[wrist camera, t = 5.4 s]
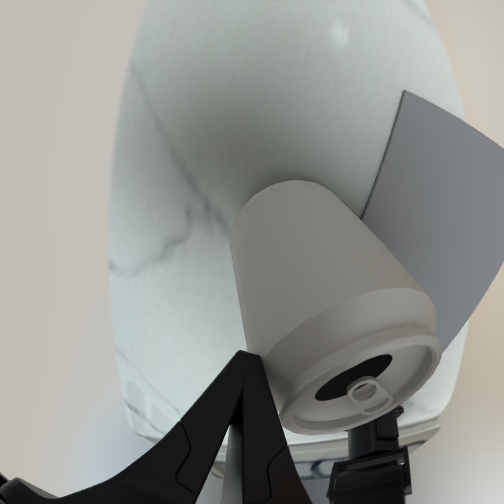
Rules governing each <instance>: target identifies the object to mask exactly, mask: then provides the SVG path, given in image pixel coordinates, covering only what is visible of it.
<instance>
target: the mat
mask: <svg viewBox="0 0 504 504" xmlns="http://www.w3.org/2000/svg"><path fill="white" fill-rule="evenodd" d="M361 221H362V222H363V223H364V224H365V225H366V226H367V227H368V228H369V229H370V230H371V231H372V232H373V233H374V234H375V236H376V237H377V238H378V239H379V240H380V241H381V242H382V243H383V244H384V245H385V246H386V247H387V248H388V250H389V251H390V252H391V253H392V254H393V255H394V256H395V257H396V258H397V260H398V261H399V262H400V263H401V264H402V265H403V266H404V267H405V269H406V270H407V271H408V272H409V273H410V274H411V276H412V277H413V278H414V279H415V280H416V281H417V283H418V284H419V285H420V286H421V287H422V289H423V290H424V291H425V292H426V294H427V295H428V296H429V298H430V299H431V301H432V303H433V304H434V306H435V307H436V326H435V332H434V335H435V336H436V338H437V339H438V340H439V342H440V343H441V344H442V353H443V352H444V350H445V349H446V348H447V347H448V345H449V344H450V343H451V342H452V340H453V339H454V338H455V336H456V335H457V334H458V332H459V331H460V330H461V328H462V327H463V326H464V324H465V323H466V321H467V320H468V319H469V317H470V316H471V314H472V313H473V311H474V310H475V308H476V307H477V305H478V304H479V302H480V300H481V299H482V298H483V296H484V294H485V293H486V291H487V290H488V288H489V286H490V285H491V283H492V281H493V279H494V278H495V276H496V274H497V273H498V271H499V269H500V267H501V265H502V263H503V262H504V149H503V148H502V147H501V146H499V145H498V144H496V143H495V142H494V141H492V140H491V139H490V138H488V137H486V136H485V135H484V134H482V133H481V132H479V131H478V130H476V129H475V128H473V127H472V126H470V125H469V124H467V123H465V122H464V121H462V120H460V119H459V118H457V117H455V116H454V115H452V114H450V113H449V112H447V111H445V110H443V109H441V108H440V107H438V106H436V105H434V104H432V103H430V102H428V101H426V100H424V99H422V98H420V97H418V96H416V95H414V94H412V93H410V92H408V91H403V95H402V99H401V102H400V106H399V110H398V113H397V116H396V120H395V123H394V127H393V130H392V133H391V136H390V139H389V143H388V146H387V149H386V152H385V155H384V158H383V161H382V164H381V167H380V170H379V172H378V175H377V178H376V181H375V184H374V186H373V189H372V192H371V195H370V197H369V200H368V202H367V205H366V208H365V210H364V213H363V215H362V218H361Z"/></svg>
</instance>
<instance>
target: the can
mask: <svg viewBox="0 0 504 504" xmlns="http://www.w3.org/2000/svg"><path fill="white" fill-rule="evenodd" d="M230 247H231V254H232V260H233V266H234V273H235V279H236V285H237V291H238V297H239V303H240V309H241V315H242V321H243V327H244V333H245V338H246V344H247V350H248V352H250V353H254V354H258V355H260V356H261V359H262V362H263V366H264V369H265V373H266V376H267V379H268V383H269V386H270V389H271V393H272V396H273V399H274V402H275V406H276V409H277V411H279V412H280V413H279V417H280V420H281V423H282V426H283V427H284V428H286V429H288V430H290V431H291V432H293V433H296V434H304V435H322V434H331V433H335V432H340V431H344V430H348V429H351V428H354V427H357V426H359V425H362V424H365V423H367V422H370V421H372V420H374V419H376V418H378V417H380V416H382V415H384V414H386V413H388V412H389V411H391V410H392V409H394V408H395V407H397V406H398V405H400V404H402V403H403V402H404V401H406V400H407V399H408V398H410V397H411V396H412V395H413V394H414V393H415V392H417V391H418V390H419V389H420V388H421V387H422V386H423V385H424V384H425V383H426V381H427V380H428V379H429V378H430V377H431V376H432V374H433V373H434V371H435V369H436V368H437V366H438V364H439V362H440V360H441V354H442V344H441V343H440V342H439V340H438V339H437V338H436V336H435V335H434V332H435V326H436V307H435V306H434V304H433V303H432V301H431V299H430V298H429V296H428V295H427V294H426V292H425V291H424V290H423V289H422V287H421V286H420V285H419V284H418V283H417V281H416V280H415V279H414V278H413V277H412V276H411V274H410V273H409V272H408V271H407V270H406V269H405V267H404V266H403V265H402V264H401V263H400V262H399V261H398V260H397V258H396V257H395V256H394V255H393V254H392V253H391V252H390V251H389V250H388V248H387V247H386V246H385V245H384V244H383V243H382V242H381V241H380V240H379V239H378V238H377V237H376V236H375V234H374V233H373V232H372V231H371V230H370V229H369V228H368V227H367V226H366V225H365V224H364V223H363V222H362V221H361V220H360V219H359V218H358V217H357V216H356V215H355V214H354V213H353V212H352V211H351V210H350V209H349V208H348V207H347V206H346V205H345V204H344V203H343V202H342V201H341V200H340V199H339V198H338V197H337V196H336V195H335V194H334V193H333V192H332V191H331V190H329V189H327V188H325V187H323V186H321V185H319V184H317V183H315V182H311V181H302V180H290V181H285V182H280V183H276V184H272V185H271V186H269V187H267V188H265V189H263V190H262V191H260V192H258V193H256V194H255V195H254V196H253V197H252V198H251V199H250V200H249V201H248V202H247V203H246V204H245V205H244V206H243V207H242V208H241V209H240V211H239V213H238V215H237V217H236V219H235V222H234V224H233V226H232V231H231V241H230Z"/></svg>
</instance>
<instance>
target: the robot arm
mask: <svg viewBox="0 0 504 504" xmlns="http://www.w3.org/2000/svg"><path fill="white" fill-rule="evenodd" d="M403 412H404V408H402V407H395V408H394V409H392V410H391V411H389V412H388V413H386V414H384V415H382V416H380V417H378V418H376V419H374V420H372V421H370V422H367V423H365V424H362V425H359V426H357V427H354V428H351V429H348V430H344V431H348V447H349V460H347V461H341V462H339V461H337V462H334V465H333V467H332V472H331V478H330V483H329V488H328V491H327V494H326V498H327V499H329V502H330V504H406V495H410V494H412V488H411V473H410V463H409V455H408V448H407V446H404V447H403V448H400V449H399V442H398V437H399V432H398V425H397V417H399V416H400V415H401V414H402V413H403ZM229 425H230V427H229ZM228 427H229V436H228V445H227V454H226V463H225V472H224V481H223V490H222V499H221V504H313V503H312V501H311V500H310V498H309V495H308V494H307V492H306V490H305V488H304V486H303V484H302V482H301V479H300V477H299V475H298V472H297V470H296V468H295V465H294V462H293V459H292V457H291V453H290V450H289V447H288V446H287V441H286V438H285V435H284V432H283V428H282V425H281V422H280V419H279V415H278V412H277V409H276V406H275V402H274V399H273V396H272V393H271V389H270V386H269V383H268V379H267V376H266V373H265V369H264V366H263V362H262V359H261V356H260V355H258V354H254V353H250V352H246V351H242V350H238V351H237V352H236V354H235V355H234V356H233V357H232V359H231V360H230V361H229V362H228V364H227V365H226V366H225V367H224V368H223V370H222V371H221V372H220V373H219V374H218V376H217V377H216V378H215V379H214V381H213V382H212V383H211V384H210V385H209V387H208V388H207V389H206V390H205V391H204V392H203V394H202V395H201V396H200V397H199V398H198V400H197V401H196V402H195V403H194V404H193V405H192V406H191V408H190V409H189V410H188V411H187V412H186V413H185V415H184V416H183V417H182V418H181V419H180V421H178V422H177V423H176V425H175V426H174V427H173V428H172V429H171V430H170V431H169V432H168V433H167V434H166V435H165V436H164V437H163V438H162V439H161V440H160V441H159V442H158V443H157V444H156V445H155V446H153V447H152V448H151V449H150V450H149V451H148V452H146V453H145V454H144V455H142V456H141V457H140V458H139V459H137V460H136V461H135V462H133V463H132V464H131V465H130V466H128V467H127V468H126V469H124V470H123V471H121V472H120V473H118V474H117V475H115V476H114V477H112V478H110V479H108V480H106V481H104V482H102V483H99V484H97V485H94V486H92V487H89V488H86V489H84V490H81V491H79V492H75V493H73V494H70V495H67V496H64V497H61V498H58V497H56V496H54V495H52V494H50V493H48V492H46V491H44V490H42V489H40V488H37V487H35V486H34V485H32V484H30V483H28V482H26V481H24V480H22V479H20V478H17V477H16V478H14V479H12V480H8V479H7V478H6V477H5V476H3V475H2V474H1V473H0V504H195V503H196V501H197V498H198V496H199V494H200V492H201V490H202V488H203V485H204V483H205V481H206V479H207V476H208V474H209V472H210V470H211V467H212V465H213V463H214V461H215V458H216V456H217V454H218V451H219V449H220V447H221V444H222V442H223V439H224V437H225V435H226V432H227V430H228ZM400 463H404V464H403V465H401V464H400Z"/></svg>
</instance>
